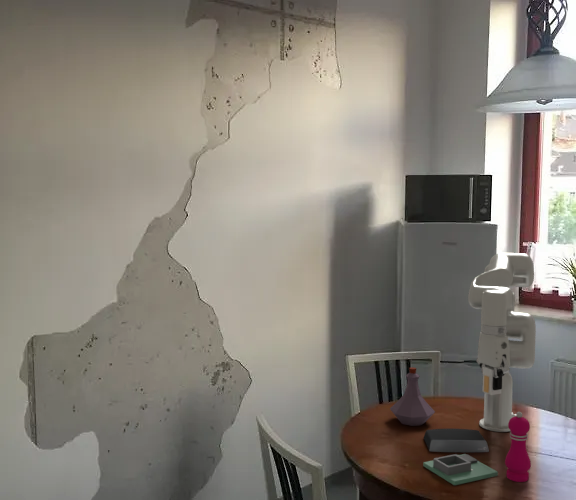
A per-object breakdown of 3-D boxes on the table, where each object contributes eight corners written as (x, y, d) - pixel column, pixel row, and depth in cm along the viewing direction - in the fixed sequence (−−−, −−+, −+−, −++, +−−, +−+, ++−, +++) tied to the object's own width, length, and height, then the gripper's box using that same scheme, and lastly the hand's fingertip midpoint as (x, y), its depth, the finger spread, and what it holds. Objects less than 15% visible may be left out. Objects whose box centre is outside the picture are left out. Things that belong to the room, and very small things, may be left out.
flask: (387, 427, 242) (388, 372, 240) (391, 412, 258) (392, 361, 256) (434, 431, 238) (435, 375, 236) (435, 415, 254) (436, 363, 252)
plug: (492, 390, 214) (493, 365, 213) (501, 393, 210) (501, 368, 210) (481, 391, 212) (481, 366, 212) (489, 395, 209) (490, 369, 208)
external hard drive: (489, 454, 218) (490, 441, 218) (429, 453, 219) (429, 441, 219) (479, 439, 231) (480, 427, 231) (423, 438, 232) (423, 427, 232)
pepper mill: (500, 473, 203) (502, 408, 201) (524, 472, 203) (525, 407, 201) (510, 483, 195) (512, 416, 194) (534, 482, 196) (536, 415, 194)
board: (465, 457, 214) (465, 446, 214) (497, 475, 201) (498, 463, 200) (423, 466, 208) (423, 454, 208) (454, 485, 194) (454, 473, 194)
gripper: (522, 334, 204) (520, 393, 205) (484, 324, 219) (483, 379, 220) (503, 336, 201) (501, 396, 202) (466, 326, 216) (465, 382, 217)
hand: (492, 386), depth 211 cm, fingers closed on plug, 4 cm apart
